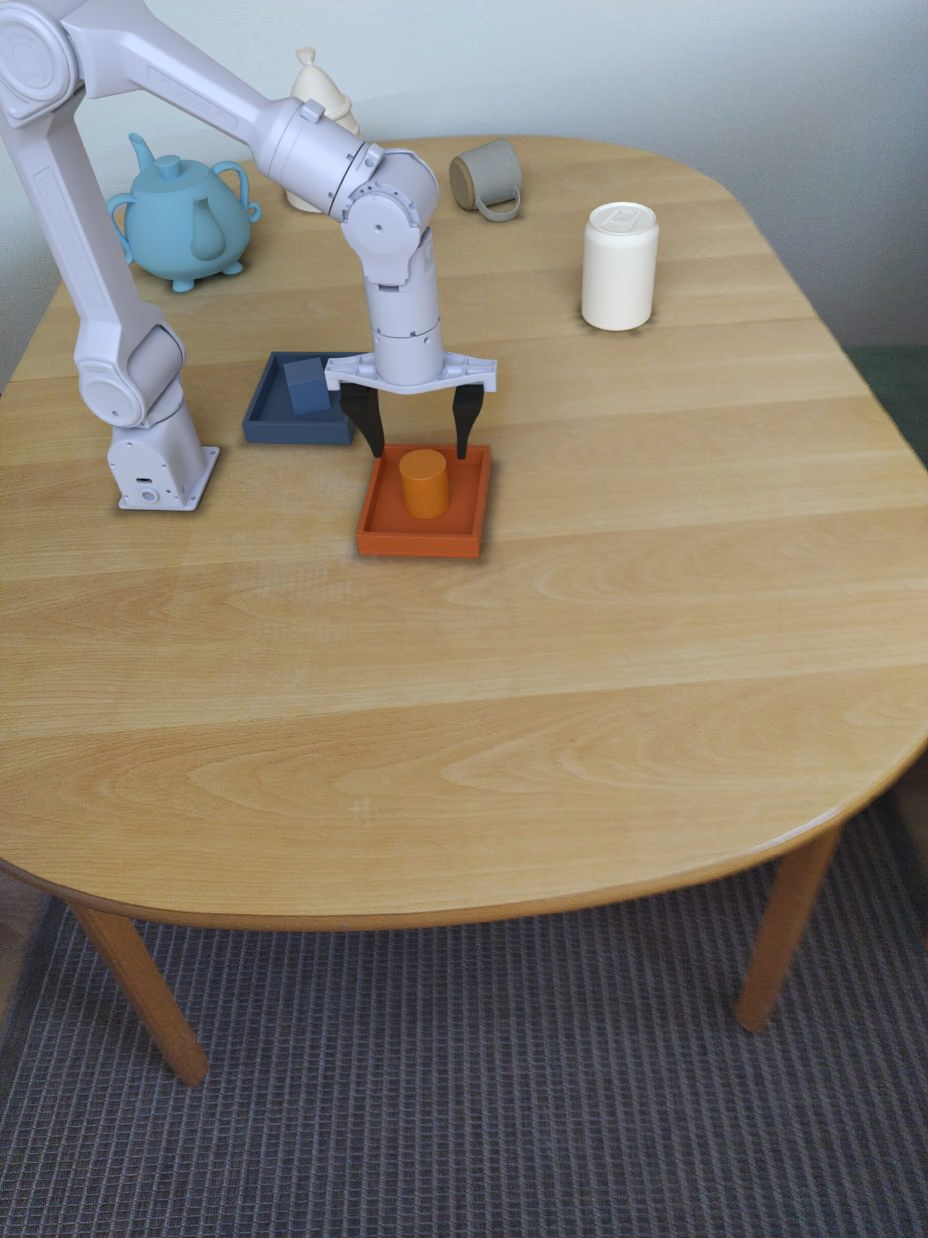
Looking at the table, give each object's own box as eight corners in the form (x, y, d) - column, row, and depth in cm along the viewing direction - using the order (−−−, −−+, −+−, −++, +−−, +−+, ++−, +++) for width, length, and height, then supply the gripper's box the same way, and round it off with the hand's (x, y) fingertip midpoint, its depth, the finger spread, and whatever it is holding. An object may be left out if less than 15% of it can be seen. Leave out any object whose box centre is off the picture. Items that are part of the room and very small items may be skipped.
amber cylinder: (447, 520, 89) (443, 479, 86) (401, 518, 90) (395, 478, 86) (452, 489, 92) (448, 448, 88) (408, 488, 93) (402, 448, 89)
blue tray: (350, 444, 99) (347, 425, 97) (247, 442, 100) (241, 423, 98) (371, 370, 107) (368, 351, 105) (276, 369, 108) (271, 351, 107)
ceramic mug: (447, 200, 133) (443, 144, 127) (497, 184, 135) (496, 128, 130) (483, 231, 127) (481, 174, 121) (536, 214, 129) (536, 157, 123)
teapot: (232, 307, 118) (202, 195, 107) (99, 290, 123) (57, 182, 112) (287, 243, 128) (264, 136, 117) (162, 230, 133) (129, 125, 122)
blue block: (331, 408, 102) (325, 377, 99) (295, 416, 102) (287, 384, 99) (326, 387, 105) (319, 356, 102) (290, 394, 104) (283, 363, 101)
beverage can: (570, 326, 110) (572, 227, 101) (597, 292, 115) (601, 194, 106) (635, 341, 108) (644, 240, 99) (660, 305, 112) (671, 206, 103)
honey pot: (280, 181, 141) (252, 47, 127) (363, 165, 142) (344, 31, 129) (296, 219, 132) (268, 80, 119) (384, 201, 134) (366, 62, 121)
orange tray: (479, 558, 87) (477, 539, 85) (359, 554, 88) (355, 535, 86) (491, 465, 95) (490, 445, 93) (382, 462, 96) (378, 443, 94)
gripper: (498, 292, 78) (503, 425, 88) (326, 292, 79) (351, 423, 90) (491, 340, 73) (497, 475, 83) (309, 339, 75) (336, 471, 85)
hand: (420, 451), depth 86 cm, fingers open, 7 cm apart
